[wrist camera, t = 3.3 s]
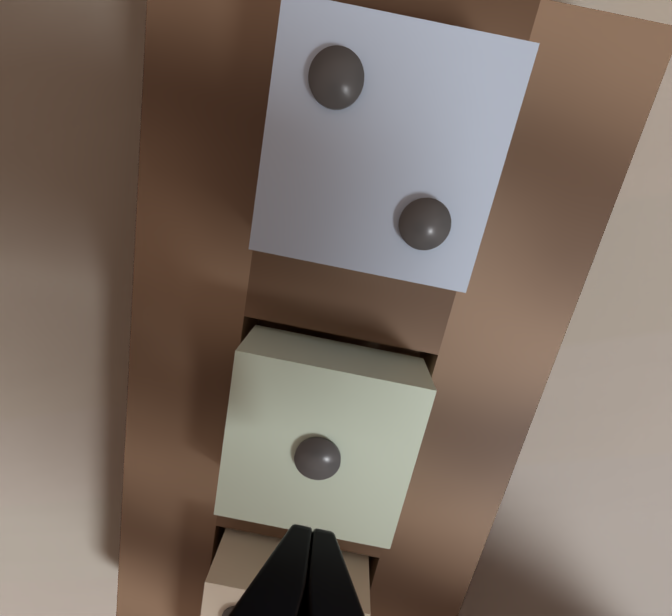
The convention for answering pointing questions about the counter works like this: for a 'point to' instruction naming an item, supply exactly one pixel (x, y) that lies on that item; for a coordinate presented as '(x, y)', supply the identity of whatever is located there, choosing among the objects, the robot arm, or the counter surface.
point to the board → (358, 285)
